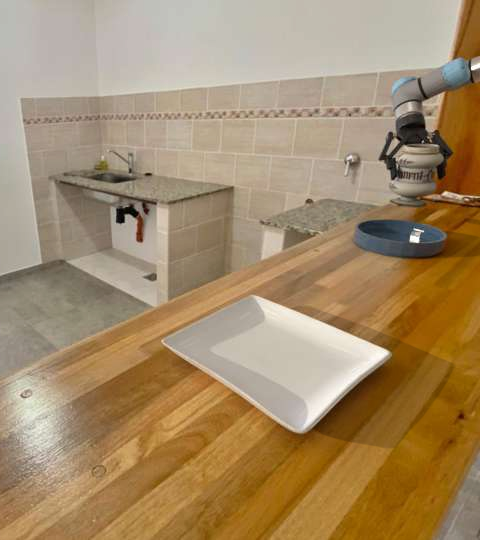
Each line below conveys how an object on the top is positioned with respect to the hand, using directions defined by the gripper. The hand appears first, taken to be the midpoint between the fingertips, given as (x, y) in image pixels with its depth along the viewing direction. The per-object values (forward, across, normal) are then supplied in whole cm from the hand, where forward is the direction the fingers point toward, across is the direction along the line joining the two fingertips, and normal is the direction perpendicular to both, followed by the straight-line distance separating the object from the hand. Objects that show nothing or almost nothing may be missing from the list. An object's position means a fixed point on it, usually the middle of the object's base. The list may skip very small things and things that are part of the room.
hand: (417, 177), depth 116 cm
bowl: (+23, +8, 0) cm, 24 cm away
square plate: (+67, +48, +44) cm, 93 cm away
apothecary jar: (+5, 0, -8) cm, 9 cm away
